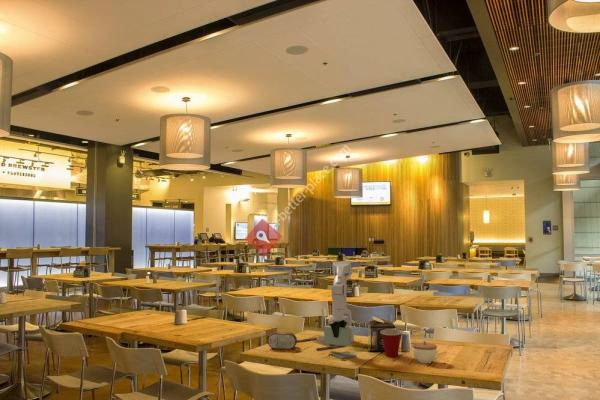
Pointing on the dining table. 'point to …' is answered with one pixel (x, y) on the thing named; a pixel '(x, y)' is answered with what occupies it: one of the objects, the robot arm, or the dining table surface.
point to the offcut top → (321, 336)
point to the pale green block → (338, 336)
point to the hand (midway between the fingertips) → (338, 336)
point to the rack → (321, 344)
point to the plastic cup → (391, 341)
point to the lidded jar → (424, 352)
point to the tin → (282, 340)
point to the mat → (343, 355)
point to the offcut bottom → (323, 342)
